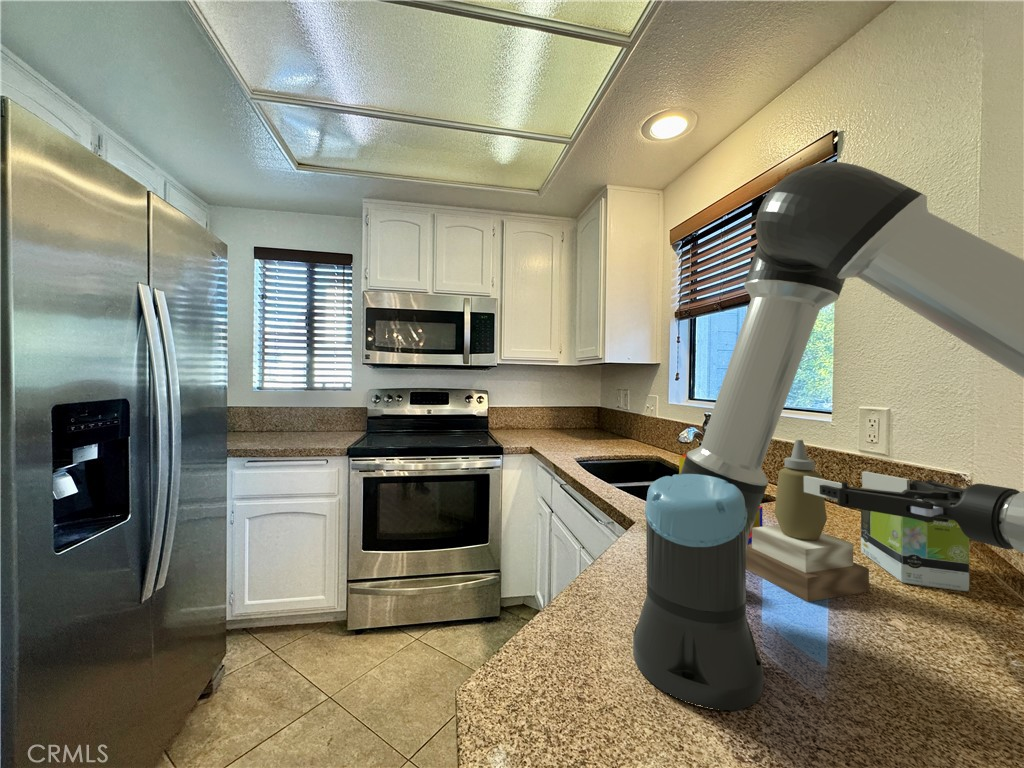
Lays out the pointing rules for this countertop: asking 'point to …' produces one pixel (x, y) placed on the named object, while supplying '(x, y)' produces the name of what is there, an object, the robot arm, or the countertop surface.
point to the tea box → (917, 549)
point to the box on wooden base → (806, 564)
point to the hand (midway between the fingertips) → (835, 481)
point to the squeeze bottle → (799, 498)
